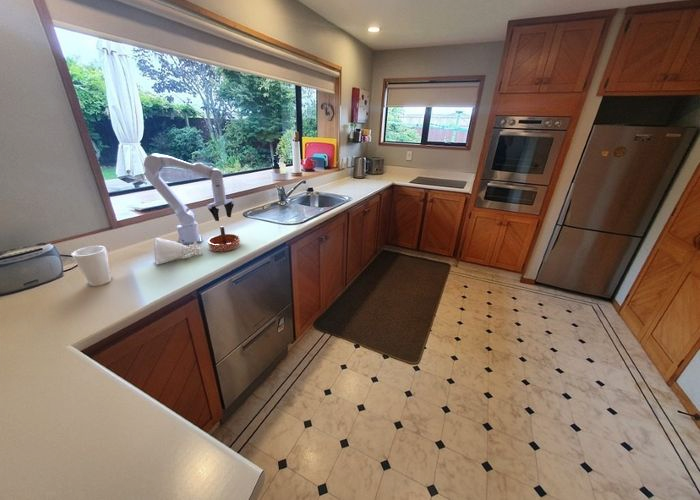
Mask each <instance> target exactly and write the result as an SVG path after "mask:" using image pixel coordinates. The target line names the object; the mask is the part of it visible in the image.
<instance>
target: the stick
mask: <svg viewBox="0 0 700 500" xmlns="http://www.w3.org/2000/svg"><path fill="white" fill-rule="evenodd" d="M219 230H220V235H221V237H222V243H223V244H227V243H226V237H225V234H226V231H225V226H224V225H221V226H219Z"/></svg>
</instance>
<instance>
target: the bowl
mask: <svg viewBox="0 0 700 500" xmlns="http://www.w3.org/2000/svg"><path fill="white" fill-rule="evenodd" d="M225 237H226V243H227V244H223V243H222V237H221V234H217V235H214V236H211V237H209V239H208V240H207V244H208V248H209V250H210V251H213V252H221V253H222V252H228V251H229V252H230V251H232V250H235V249H237V248H238V247H239V246H241V245H240V244H241V241H240V237H239V235H237V234H233V233H225Z"/></svg>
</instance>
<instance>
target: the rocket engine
mask: <svg viewBox="0 0 700 500" xmlns="http://www.w3.org/2000/svg"><path fill="white" fill-rule="evenodd" d="M202 247H203V244H198V242H194V243H192V244H189V245H186V244H181V243H180V242H178V241H177V242H176V241H174V240H170V239H165V238H161V237H155V238H154V241H153V253H154V260H155V264H156V265H161V264H166V263H169V262H172V261H175V260H178V259H180V258H181V259H182V260H183V259H187V258H189V257H192V256H193V257H194V256H202V255H203V252H202V251H200V249H199V248H202Z"/></svg>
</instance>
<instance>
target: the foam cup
mask: <svg viewBox="0 0 700 500" xmlns="http://www.w3.org/2000/svg"><path fill="white" fill-rule="evenodd" d="M70 255H71V257H72V259H73V261H74V262H75V263H76V265H77V267H78V269H79V270H80V271H81V273H82V275H83V276H84V278H85V280H86V281H87V282H88V284H89V285H90V286H92V287H98V286H102V285H105V284H108V283H110V282H111V281H112V276H111V269H110V264H109V263H110V262H109V257H108V250H107V247H105V246H104V245H91V246H89V245H88V246H84V247H80V248H77V249H76V250H74V251H72V252H70Z"/></svg>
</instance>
